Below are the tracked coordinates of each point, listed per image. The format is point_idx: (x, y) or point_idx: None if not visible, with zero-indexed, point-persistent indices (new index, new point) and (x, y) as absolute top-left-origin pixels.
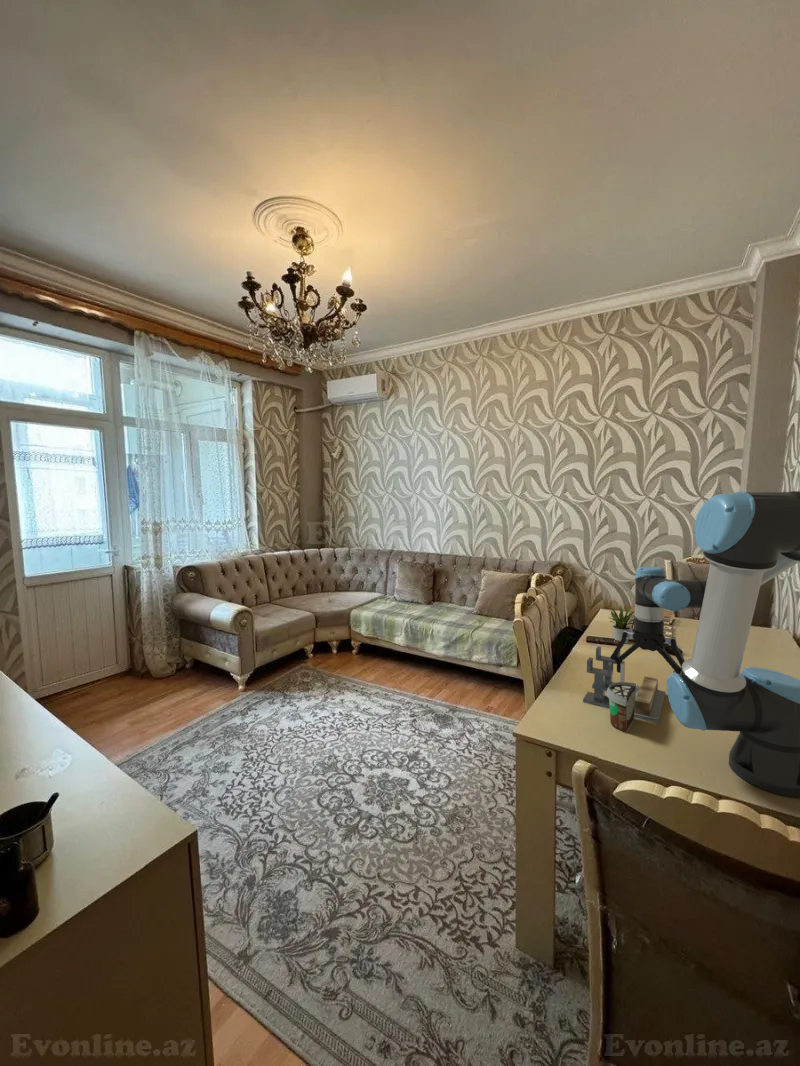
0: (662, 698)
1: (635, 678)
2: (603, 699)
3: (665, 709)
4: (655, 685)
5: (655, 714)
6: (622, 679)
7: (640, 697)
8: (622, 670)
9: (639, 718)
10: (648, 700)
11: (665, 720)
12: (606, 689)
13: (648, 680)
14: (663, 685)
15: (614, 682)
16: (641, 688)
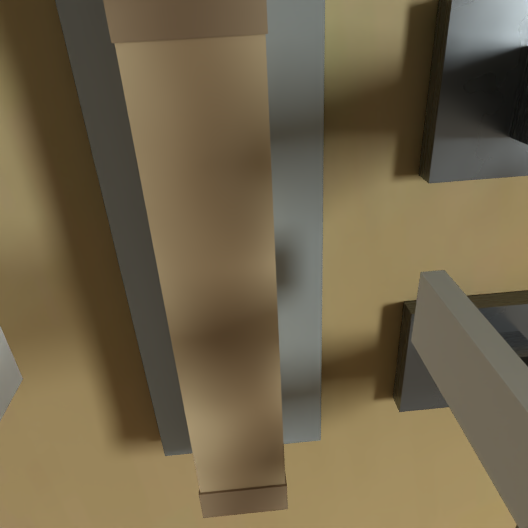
0: (150, 365)
1: (340, 514)
2: (520, 90)
3: (102, 259)
4: (188, 426)
5: (101, 69)
6: (449, 302)
7: (230, 108)
8: (507, 375)
9: None
10: (141, 80)
11: (35, 71)
12: (487, 300)
13: (251, 470)
14: (205, 518)
15: (445, 405)
16: (266, 318)
